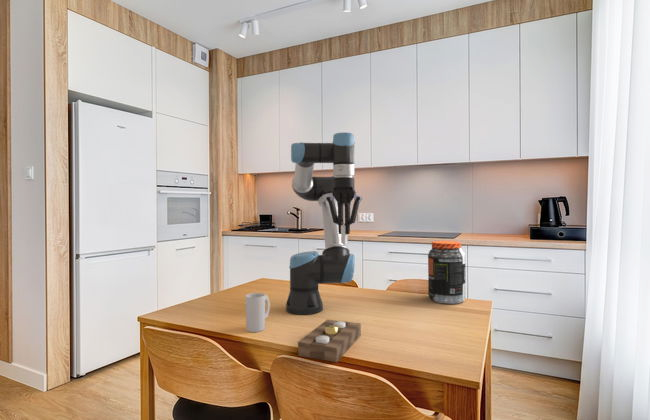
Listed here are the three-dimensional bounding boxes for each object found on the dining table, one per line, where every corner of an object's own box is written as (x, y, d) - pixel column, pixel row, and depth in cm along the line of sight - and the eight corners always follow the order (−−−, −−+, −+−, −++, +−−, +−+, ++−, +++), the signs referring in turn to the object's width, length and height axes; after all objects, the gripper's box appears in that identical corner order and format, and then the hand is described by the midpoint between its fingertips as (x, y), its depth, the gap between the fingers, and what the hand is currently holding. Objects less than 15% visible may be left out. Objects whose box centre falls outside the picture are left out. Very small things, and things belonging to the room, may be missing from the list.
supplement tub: (473, 301, 166) (473, 242, 166) (450, 307, 158) (450, 244, 157) (443, 293, 180) (443, 239, 179) (420, 299, 171) (420, 241, 170)
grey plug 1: (313, 352, 110) (313, 339, 110) (319, 347, 114) (319, 334, 114) (326, 355, 109) (326, 341, 109) (331, 349, 113) (331, 336, 112)
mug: (254, 334, 128) (254, 298, 128) (241, 330, 132) (241, 295, 132) (276, 326, 136) (275, 292, 136) (263, 322, 140) (262, 290, 140)
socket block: (336, 362, 105) (336, 347, 105) (298, 355, 110) (298, 341, 110) (360, 335, 126) (360, 323, 126) (327, 330, 130) (327, 319, 130)
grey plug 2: (331, 336, 123) (331, 324, 123) (336, 332, 127) (336, 320, 127) (343, 338, 122) (343, 325, 122) (347, 334, 125) (347, 322, 125)
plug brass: (323, 340, 117) (323, 327, 117) (328, 336, 120) (327, 323, 120) (335, 342, 115) (335, 329, 115) (339, 338, 119) (339, 325, 119)
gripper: (322, 177, 134) (323, 243, 135) (358, 176, 129) (358, 245, 129) (330, 178, 141) (331, 241, 141) (364, 177, 136) (364, 242, 136)
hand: (344, 243), depth 135 cm, fingers closed
